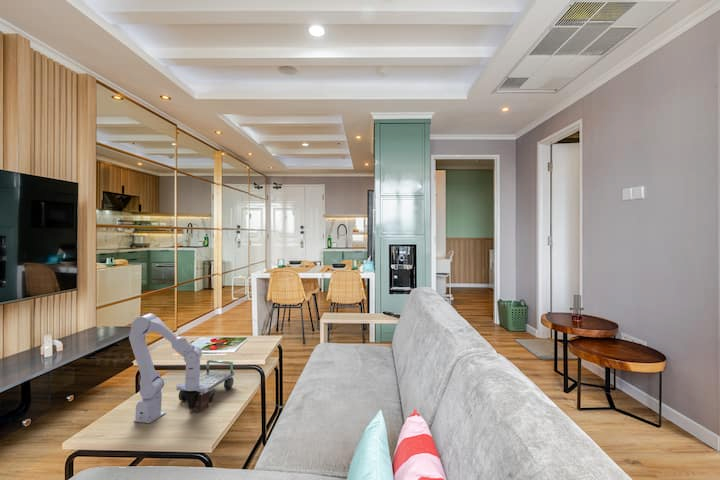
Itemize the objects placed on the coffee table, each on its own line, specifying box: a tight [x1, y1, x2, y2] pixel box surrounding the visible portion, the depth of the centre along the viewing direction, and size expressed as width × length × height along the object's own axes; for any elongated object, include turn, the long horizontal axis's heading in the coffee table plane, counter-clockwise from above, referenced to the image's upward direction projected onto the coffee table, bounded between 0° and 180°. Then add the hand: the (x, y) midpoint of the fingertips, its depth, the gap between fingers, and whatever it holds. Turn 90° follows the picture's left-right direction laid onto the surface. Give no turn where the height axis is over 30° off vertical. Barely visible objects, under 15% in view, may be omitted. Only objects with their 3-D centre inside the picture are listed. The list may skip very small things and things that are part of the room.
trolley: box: [178, 359, 235, 404], centre depth 173 cm, size 23×16×14 cm
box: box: [188, 391, 210, 412], centre depth 156 cm, size 6×6×7 cm
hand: (191, 407), depth 151 cm, fingers closed
